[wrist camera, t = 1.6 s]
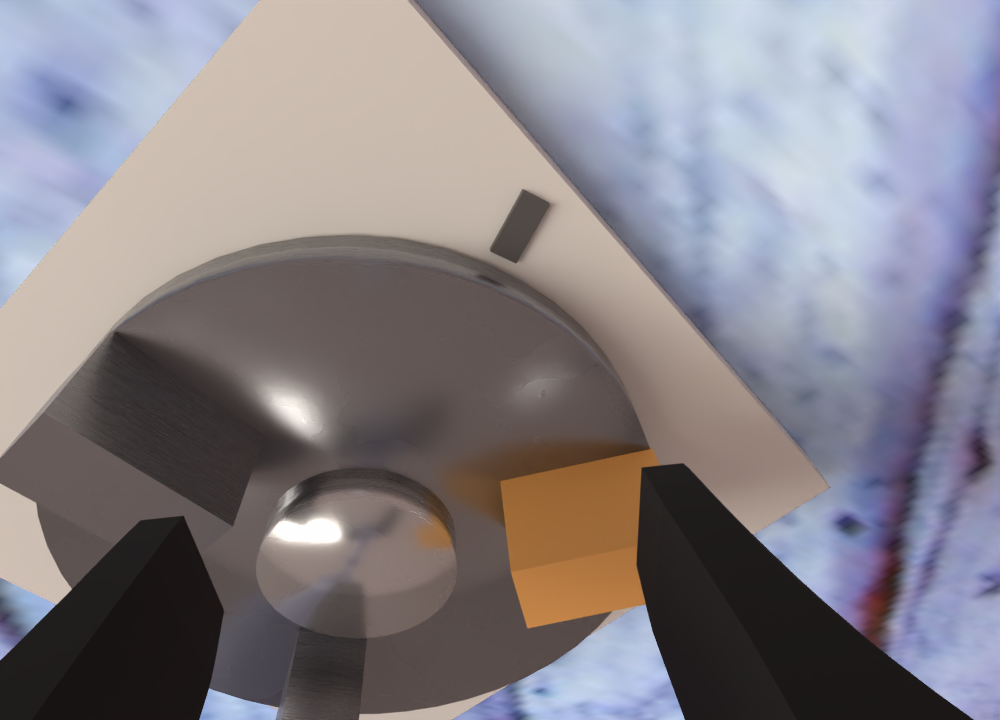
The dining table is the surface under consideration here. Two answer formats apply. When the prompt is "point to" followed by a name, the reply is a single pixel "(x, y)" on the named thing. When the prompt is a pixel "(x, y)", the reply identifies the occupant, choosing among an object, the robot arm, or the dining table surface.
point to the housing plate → (373, 213)
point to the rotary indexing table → (355, 469)
